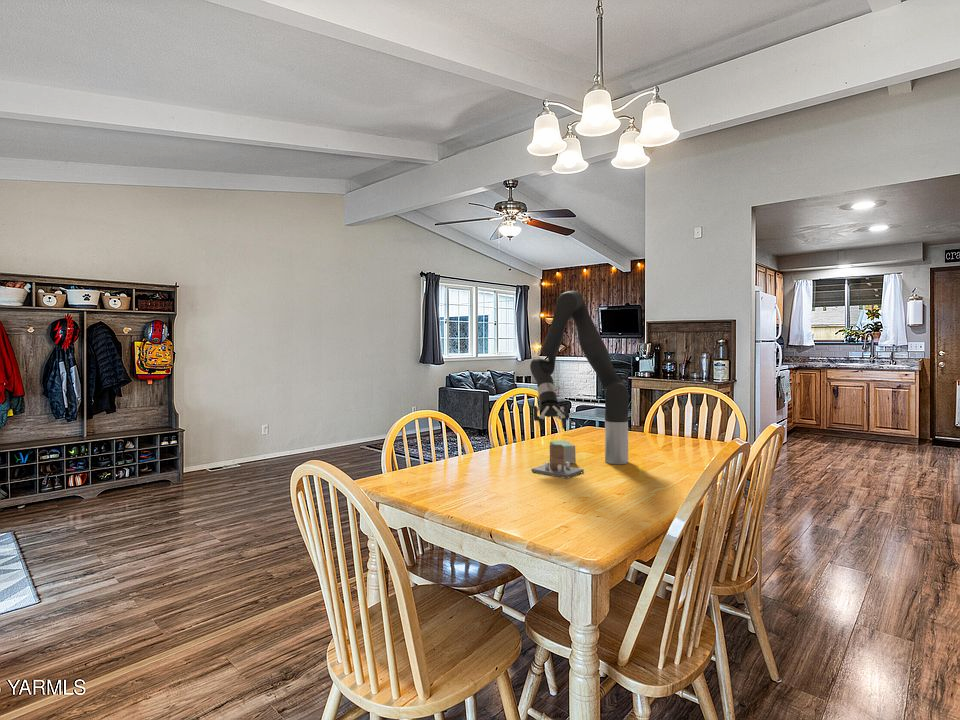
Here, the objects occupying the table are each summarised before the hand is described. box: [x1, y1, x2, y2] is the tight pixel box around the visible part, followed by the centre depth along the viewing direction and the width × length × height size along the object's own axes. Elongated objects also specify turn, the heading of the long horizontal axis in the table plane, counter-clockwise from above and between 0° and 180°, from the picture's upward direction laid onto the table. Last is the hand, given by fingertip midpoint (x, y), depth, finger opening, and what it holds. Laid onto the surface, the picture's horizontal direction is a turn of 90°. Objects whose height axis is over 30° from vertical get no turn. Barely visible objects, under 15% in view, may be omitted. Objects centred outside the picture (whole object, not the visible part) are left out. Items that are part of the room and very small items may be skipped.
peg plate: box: [531, 462, 585, 479], centre depth 208 cm, size 12×16×4 cm
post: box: [549, 444, 565, 470], centre depth 208 cm, size 4×4×9 cm
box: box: [549, 440, 577, 465], centre depth 229 cm, size 7×14×8 cm, turn 9°
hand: (553, 427), depth 215 cm, fingers open, 8 cm apart
